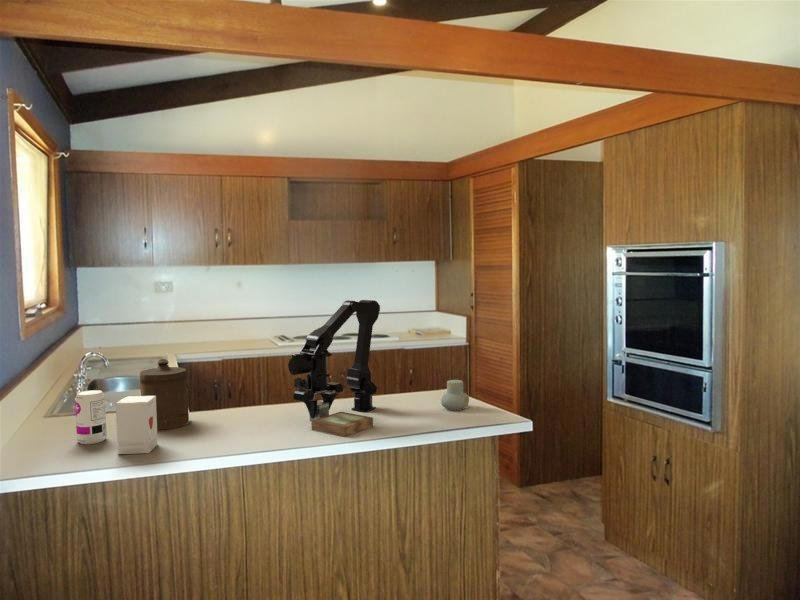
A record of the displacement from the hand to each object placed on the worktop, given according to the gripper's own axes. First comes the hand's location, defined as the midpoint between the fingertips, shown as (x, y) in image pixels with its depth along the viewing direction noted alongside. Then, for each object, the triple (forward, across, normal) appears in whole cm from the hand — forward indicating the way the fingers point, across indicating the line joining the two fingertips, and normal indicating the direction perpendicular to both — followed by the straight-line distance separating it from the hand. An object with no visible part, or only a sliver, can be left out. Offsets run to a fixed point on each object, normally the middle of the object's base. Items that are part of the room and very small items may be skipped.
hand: (319, 416), depth 216 cm
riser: (+1, +3, +13) cm, 13 cm away
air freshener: (+2, -39, +30) cm, 49 cm away
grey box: (+1, 0, 0) cm, 1 cm away
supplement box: (+2, +53, -22) cm, 57 cm away
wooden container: (+2, +32, -40) cm, 51 cm away
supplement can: (+2, +56, -42) cm, 70 cm away
